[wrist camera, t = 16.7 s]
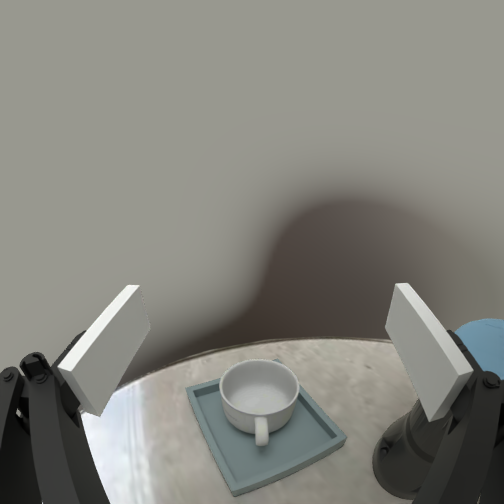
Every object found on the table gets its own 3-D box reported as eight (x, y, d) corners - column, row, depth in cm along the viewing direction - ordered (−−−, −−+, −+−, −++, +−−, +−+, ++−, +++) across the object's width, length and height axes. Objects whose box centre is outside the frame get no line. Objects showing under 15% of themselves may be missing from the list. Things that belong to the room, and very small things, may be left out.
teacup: (233, 386, 42) (229, 353, 39) (297, 391, 40) (301, 358, 37) (212, 454, 29) (202, 427, 26) (291, 463, 28) (296, 438, 25)
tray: (277, 369, 47) (277, 358, 46) (342, 446, 30) (347, 436, 29) (188, 398, 40) (185, 388, 39) (234, 496, 23) (231, 491, 22)
